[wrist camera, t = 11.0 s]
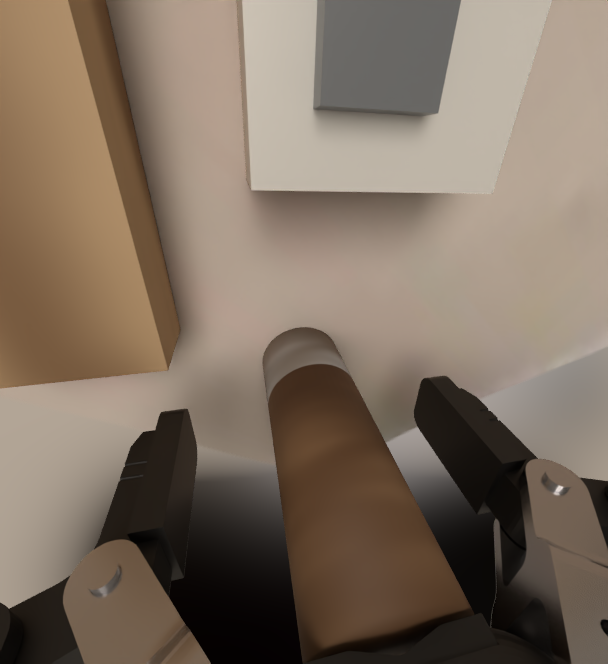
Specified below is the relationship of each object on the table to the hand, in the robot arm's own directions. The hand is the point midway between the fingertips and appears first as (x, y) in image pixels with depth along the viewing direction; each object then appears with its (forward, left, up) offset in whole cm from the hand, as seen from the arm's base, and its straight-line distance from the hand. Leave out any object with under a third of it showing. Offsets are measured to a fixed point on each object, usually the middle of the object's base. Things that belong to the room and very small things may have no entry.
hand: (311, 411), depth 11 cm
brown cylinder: (0, 0, -3) cm, 3 cm away
